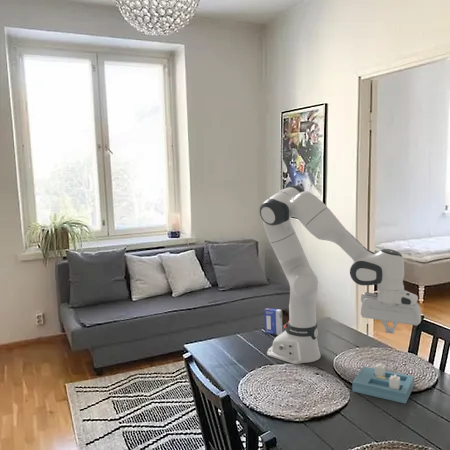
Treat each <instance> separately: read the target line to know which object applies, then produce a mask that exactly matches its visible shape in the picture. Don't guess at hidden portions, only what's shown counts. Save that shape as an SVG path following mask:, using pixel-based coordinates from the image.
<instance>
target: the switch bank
mask: <svg viewBox="0 0 450 450" xmlns="http://www.w3.org/2000/svg"><path fill="white" fill-rule="evenodd" d="M394 374H395V375H397V376H398V377H400V390H396V389H391V388H389V378H390V376H391V375H393V376H394ZM351 382H352V385H351V387H352V391H351V392H354V393H358V394H363V395H367V396H371V397H375V398H380V399H385V400H388V401H391V402H397V403H402V404H407V401H408V399H409V397H410V395H411V394H412V391H413V389H414V387H413V385H414V386H415V376H414V375H408V374H404V373H403V374H402V373H399V372H393V371H387V370H385V377H381V376H375V367H374V368H373V367H368V366H363V367H361V369H360V370H359V372H358V374H357V375H356V376H355V378H354V379H353V381H351ZM412 388H413V389H412ZM411 390H412V391H411Z"/></svg>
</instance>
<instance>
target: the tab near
mask: <svg viewBox="0 0 450 450" xmlns="http://www.w3.org/2000/svg"><path fill="white" fill-rule="evenodd" d="M389 388H391V389H396V390H400V377H398V376H397V375H395V374H394V376H393V375H391V376H390V378H389Z"/></svg>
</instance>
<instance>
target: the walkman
mask: <svg viewBox="0 0 450 450" xmlns="http://www.w3.org/2000/svg"><path fill="white" fill-rule="evenodd" d="M263 312H264V333H265V334H270V335H277V336H278V335H279V334H281V333H282V332H283V319H282V316H283V315H282V313H283V312H282V309H279V308H270V307H269V308H268V307H266V308H264V311H263Z"/></svg>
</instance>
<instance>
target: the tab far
mask: <svg viewBox="0 0 450 450" xmlns="http://www.w3.org/2000/svg"><path fill="white" fill-rule="evenodd" d="M374 369H375V376H381V377H385V371H386V365H385V364H383V363H382V362H379V363H376V364H375V366H374Z"/></svg>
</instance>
